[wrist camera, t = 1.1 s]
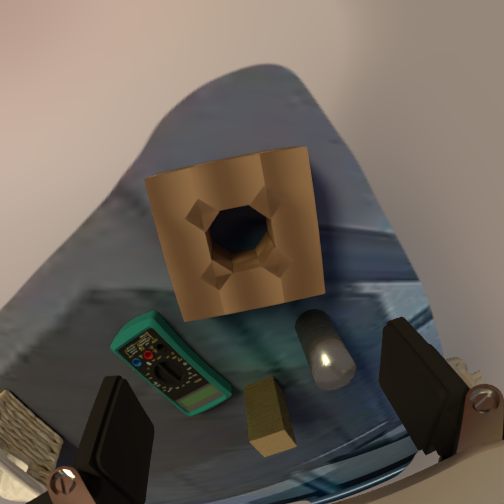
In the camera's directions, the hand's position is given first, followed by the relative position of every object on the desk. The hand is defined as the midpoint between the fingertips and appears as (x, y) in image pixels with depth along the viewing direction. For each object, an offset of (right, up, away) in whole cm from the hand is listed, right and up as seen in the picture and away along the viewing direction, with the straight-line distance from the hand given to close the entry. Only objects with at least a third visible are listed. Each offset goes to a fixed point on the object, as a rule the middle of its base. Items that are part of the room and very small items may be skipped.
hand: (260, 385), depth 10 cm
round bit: (+7, -4, +24) cm, 26 cm away
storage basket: (-46, -29, +29) cm, 61 cm away
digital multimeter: (-10, -9, +25) cm, 29 cm away
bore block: (-2, +7, +20) cm, 21 cm away
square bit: (+1, -13, +27) cm, 30 cm away
